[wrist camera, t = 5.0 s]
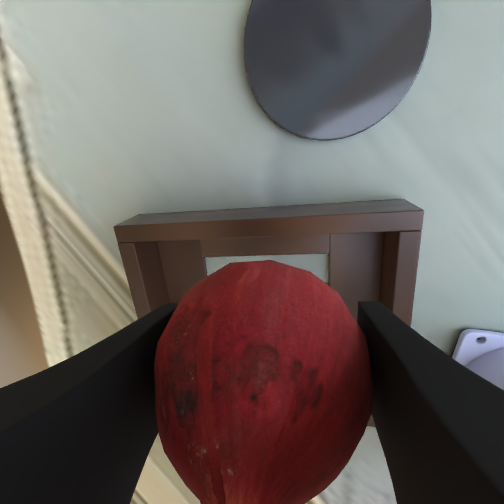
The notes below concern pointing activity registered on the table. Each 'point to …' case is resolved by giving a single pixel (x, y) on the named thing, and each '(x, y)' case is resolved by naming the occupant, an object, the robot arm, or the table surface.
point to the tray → (279, 249)
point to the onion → (261, 385)
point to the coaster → (333, 61)
